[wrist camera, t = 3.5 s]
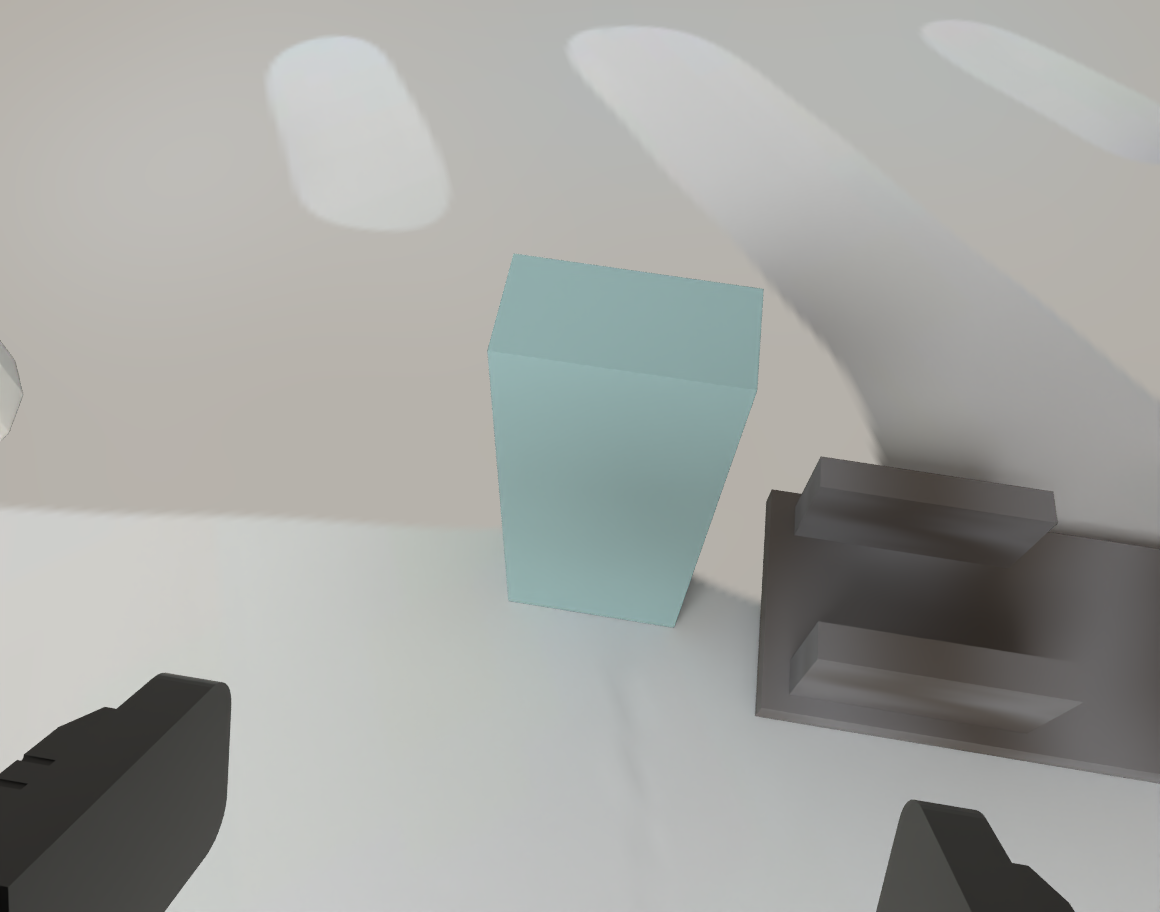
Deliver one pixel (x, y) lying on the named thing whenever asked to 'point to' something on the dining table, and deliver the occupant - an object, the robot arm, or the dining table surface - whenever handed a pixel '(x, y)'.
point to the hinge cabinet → (958, 621)
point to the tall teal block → (615, 429)
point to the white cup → (8, 391)
